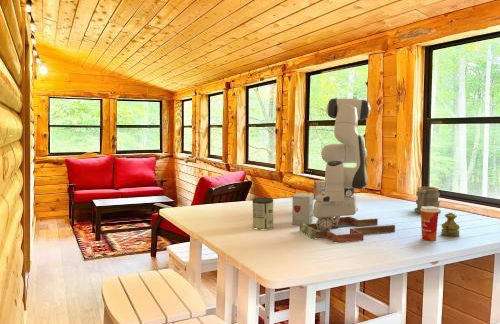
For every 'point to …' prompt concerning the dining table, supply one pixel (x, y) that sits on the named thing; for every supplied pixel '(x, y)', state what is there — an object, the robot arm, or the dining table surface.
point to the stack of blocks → (319, 187)
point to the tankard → (427, 198)
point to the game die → (324, 224)
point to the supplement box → (302, 209)
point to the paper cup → (429, 222)
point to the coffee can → (263, 213)
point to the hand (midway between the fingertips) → (334, 225)
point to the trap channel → (355, 233)
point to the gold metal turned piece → (450, 226)
